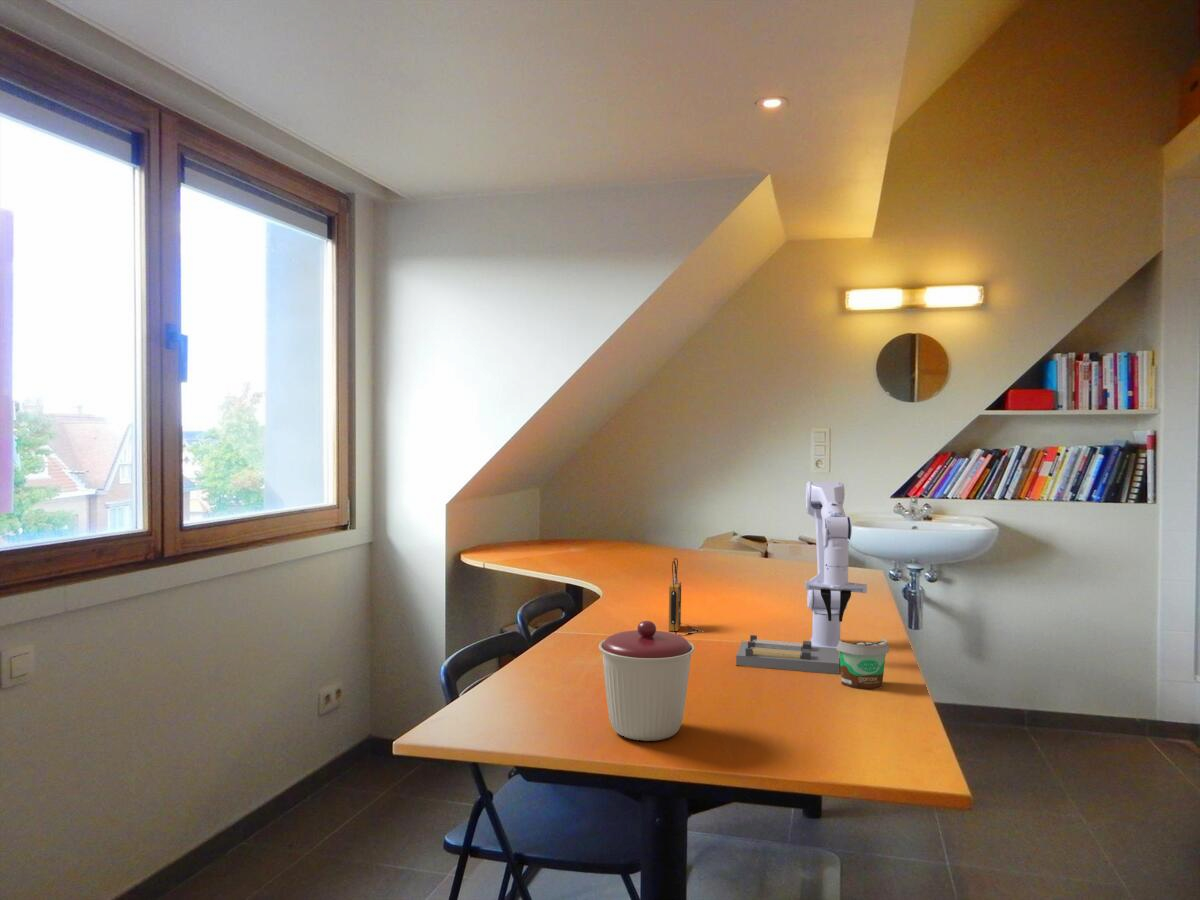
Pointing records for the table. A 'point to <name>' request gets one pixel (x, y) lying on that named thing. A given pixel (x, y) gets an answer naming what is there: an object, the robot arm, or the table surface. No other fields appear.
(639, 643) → the canister
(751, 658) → the mounting plate
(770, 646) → the bar
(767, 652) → the bar
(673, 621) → the riveted handle with loop
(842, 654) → the food container
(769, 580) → the table surface
